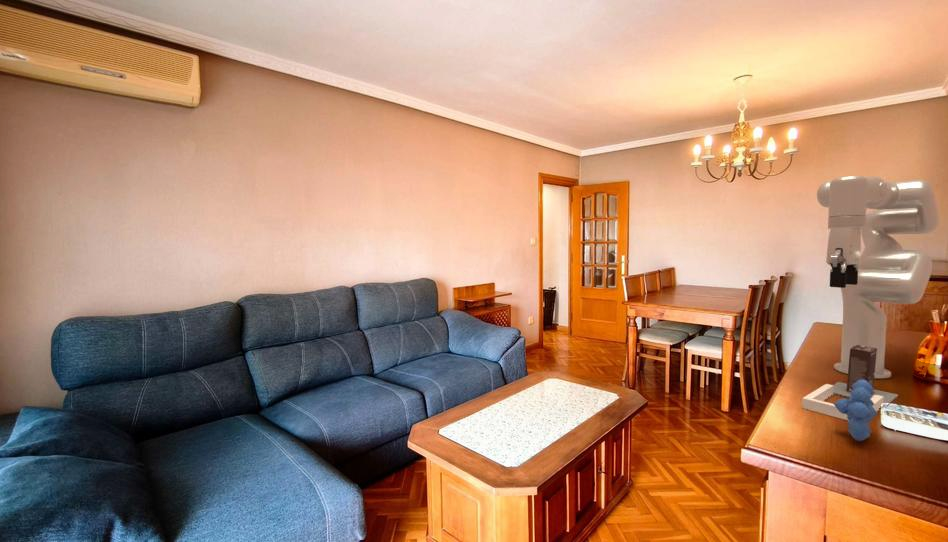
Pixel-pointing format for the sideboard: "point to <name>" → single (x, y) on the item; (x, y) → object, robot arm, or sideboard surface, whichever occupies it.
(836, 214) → the robot arm
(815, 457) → the sideboard surface
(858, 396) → the grapes
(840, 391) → the mat
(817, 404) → the white rectangular frame
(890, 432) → the sideboard surface
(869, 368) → the box
